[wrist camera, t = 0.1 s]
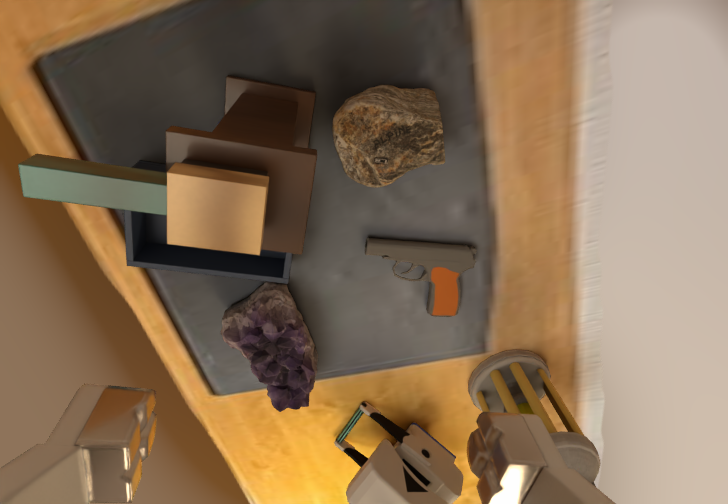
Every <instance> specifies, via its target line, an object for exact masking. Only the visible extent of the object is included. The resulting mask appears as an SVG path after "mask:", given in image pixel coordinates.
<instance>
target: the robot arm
mask: <svg viewBox="0 0 728 504" xmlns="http://www.w3.org/2000/svg"><path fill="white" fill-rule="evenodd" d="M155 402H156V393H155V390H152V389H151V390H150V389H141V388H130V387H119V386H104V385H93V384H84V385H83V386H81V388H79V389H78V391H77V392H76V394H75V395H74V397H73V399H72V400H71V402H70V404H69V405H68V407H67V409H66V410H65V412H64V414H63V415H62V417H61V418H60V420H59V422H58V423H57V425H56V427H55V429H54V430H53V432H52V434H51V435H50V437H49V438H48V440H47V441H46V443H45V444H37V445H35V446H34V447H32V448H30V449H29V450H27V451H26V452H24V453H23V454H21V455H20V456H18V457H17V458H15V459H13V460H12V461H10V462H9V463H7V464H6V465H4V466H3V467H1V468H0V504H89V503H118V502H119V503H125V502H126V503H131V502H132V500H133V497H134V494H135V492H136V489H137V486H138V483H139V481H140V478H141V475H142V466H141V462H142V461H143V460H145V459H146V458H147V457H148V456H149V453H150V450H151V447H152V444H153V440H154V436H155V430H156V414H155V413H154V412H153V411H152V410H153V408H154V405H155ZM476 422H477V424H478V427H479V428H478V429H476V430H475V431H474V432H472V433H471V435H470V437H469V440H468V444H467V457H468V462H469V466H470V469H471V471H472V472H473V473H474V474H475V475H476V476H477V477H478V478H479V481H478V484H477V490H478V493H479V496H480V499H481V501H482V504H615V503H614V502H613V501H612V500H610V499H609V498H608V497H607V496H606V495H604V494H603V493H602V492H601V491H600V490H599V489H597V488H596V487H595V486H594V485H592V484H591V483H590V482H589V481H588V480H586V479H585V478H584V477H583V476H582V475H580V474H579V473H578V472H577V471H576V470H574V469H571V468H568V467H567V465H566V464H565V462H564V460H563V458H562V456H561V454H560V453H559V451H558V449H557V447H556V445H555V444H554V442H553V440H552V438H551V436H550V434H549V433H548V431H547V429H546V427H545V425H544V424H543V422H542V420H541V418H540V417H539V416H537V415H532V414H516V413H500V412H482V413H481V414H480V415H479V417H478V419H477V421H476Z"/></svg>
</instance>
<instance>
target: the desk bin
mask: <svg viewBox="0 0 728 504" xmlns="http://www.w3.org/2000/svg"><path fill="white" fill-rule="evenodd" d="M132 168H137V169H143V170H150V171H157V172H164V173H166V164H160V163H154V162H147V161H141V160H139V161H138V162H137V163H136V164H135V165H134V166H133V167H132ZM124 222H125V240H126V259H127V266H134V267H143V268H152V269H161V270H170V271H179V272H188V273H197V274H206V275H214V276H223V277H232V278H241V279H250V280H259V281H268V282H277V283H286V284H288V282H289V275H290V268H291V261H292V253H286V252H278V251H270V250H262V249H261V251H260V255H254V254H246V253H238V252H229V251H221V250H213V249H205V248H197V247H188V246H180V245H172V244H167V237H166V215H158V214H151V213H143V212H136V211H128V210H124Z"/></svg>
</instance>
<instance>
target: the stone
mask: <svg viewBox="0 0 728 504" xmlns="http://www.w3.org/2000/svg"><path fill="white" fill-rule="evenodd" d="M332 132H333V137H334V139H333V140H334V143H335V147H336V151H337V153H338V155H339V158H340V160H341V161H342V165H343V168H344V171H345V172H346V174H347V175H348V176H349V177H350V178H352V179H353V180H355V181H356V182H358V183H360V184H364V185H366V186H369V187H382V186H386V185H388V184H390V183H393V182H394V181H395V180H396V179H398V178H399V177H400V176H402V175H404V174H405V173H406V172H407V171H409V170H413V169H415V168H418V167H421V166H424V165H427V164H434V165H437V164H443V163H445V152H444V140H443V128H442V120H441V115H440V110H439V104H438V101H437V98H436V95H435V92H434V91H432V90H429V89H425V88H417V89H407V88H404V89H401V88H397V87H395V86H391V85H379V86H376V87H372V88H369V89H367V90H365V91H363V92H361V93H359V94H357V95H355V96H352V97H351V98H349V99H347V100H346V101H345V103H344V104H343V105H342V106H341V108H340V109H339V110H338V111H337V112H336V113H335V115H334V118H333V129H332Z"/></svg>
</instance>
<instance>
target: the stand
mask: <svg viewBox="0 0 728 504" xmlns="http://www.w3.org/2000/svg"><path fill="white" fill-rule="evenodd" d="M315 95H316V92H314V91H309V90H304V89H298V88H293V87H288V86H283V85H277V84H272V83H267V82H261V81H256V80H251V79H245V78H240V77H235V76H230V75H228V76H227V77H226V93H225V111H224V117H223V119H222V120H221V121H220V123H219V124H218V125H217V127H216V128H215V129H214V130H213V132H207V131H201V130H195V129H189V128H182V127H176V126H171V127H170V128H168V129H167V130H166V173H167V172H168V171H169V169H170V168H171V167H172V166H173V165H174V163H175V162H177V163H181V162H182V161H183V160H184V159H189V160H196V161H202V162H209V163H215V164H222V165H228V166H235V167H241V168H248V169H254V170H260V171H267V172H268V177H269V185H268V195H267V204H266V214H265V223H264V233H263V242H262V247H261V249H262V250H270V251H278V252H286V253H294V254H302V251H303V245H304V238H305V232H306V225H307V219H308V212H309V205H310V199H311V192H312V186H313V179H314V173H315V166H316V160H317V150H315V149H309V148H308V145H309V138H310V131H311V124H312V117H313V110H314V103H315ZM166 237H167V216H166Z"/></svg>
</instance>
